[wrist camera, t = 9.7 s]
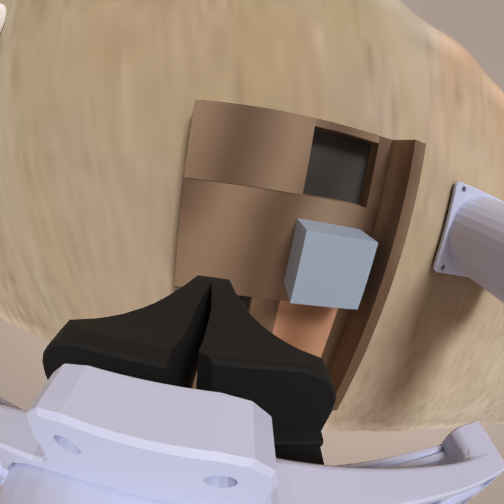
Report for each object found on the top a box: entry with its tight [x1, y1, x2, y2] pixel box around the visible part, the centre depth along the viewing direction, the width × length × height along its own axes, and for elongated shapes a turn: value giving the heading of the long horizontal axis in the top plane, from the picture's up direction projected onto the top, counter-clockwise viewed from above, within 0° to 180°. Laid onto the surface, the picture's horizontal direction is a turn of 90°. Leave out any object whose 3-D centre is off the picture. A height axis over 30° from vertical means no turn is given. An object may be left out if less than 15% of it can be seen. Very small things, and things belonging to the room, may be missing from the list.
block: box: [284, 218, 378, 310], centre depth 18 cm, size 4×4×3 cm
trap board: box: [174, 100, 426, 410], centre depth 19 cm, size 14×21×4 cm, turn 171°
